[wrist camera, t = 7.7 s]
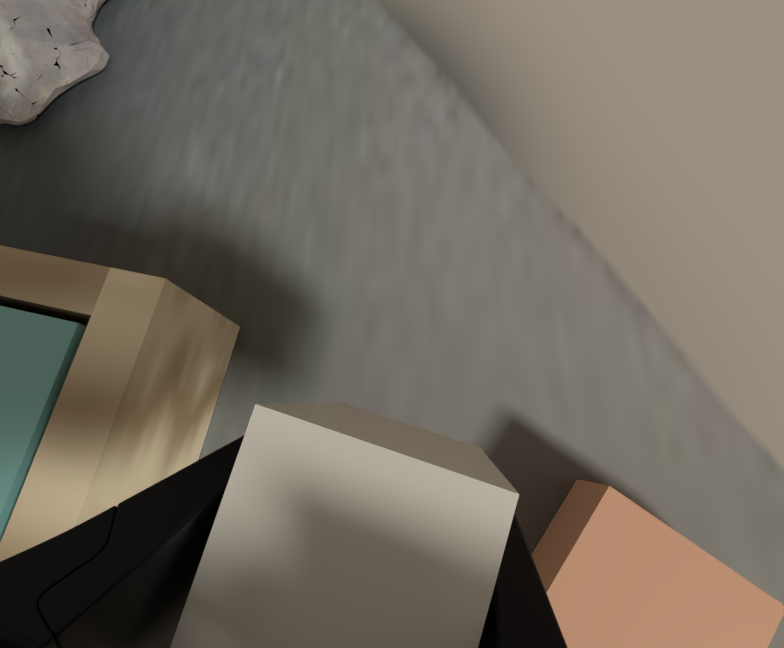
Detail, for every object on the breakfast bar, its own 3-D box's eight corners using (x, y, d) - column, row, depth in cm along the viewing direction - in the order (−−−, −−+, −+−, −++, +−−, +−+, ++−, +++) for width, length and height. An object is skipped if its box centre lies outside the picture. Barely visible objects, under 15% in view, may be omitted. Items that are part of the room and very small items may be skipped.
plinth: (640, 726, 19) (694, 797, 15) (496, 612, 21) (512, 650, 17) (718, 577, 20) (786, 607, 16) (577, 479, 22) (609, 485, 18)
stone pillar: (437, 597, 13) (434, 808, 6) (297, 543, 14) (157, 682, 7) (479, 447, 14) (519, 494, 7) (343, 402, 14) (255, 404, 8)
